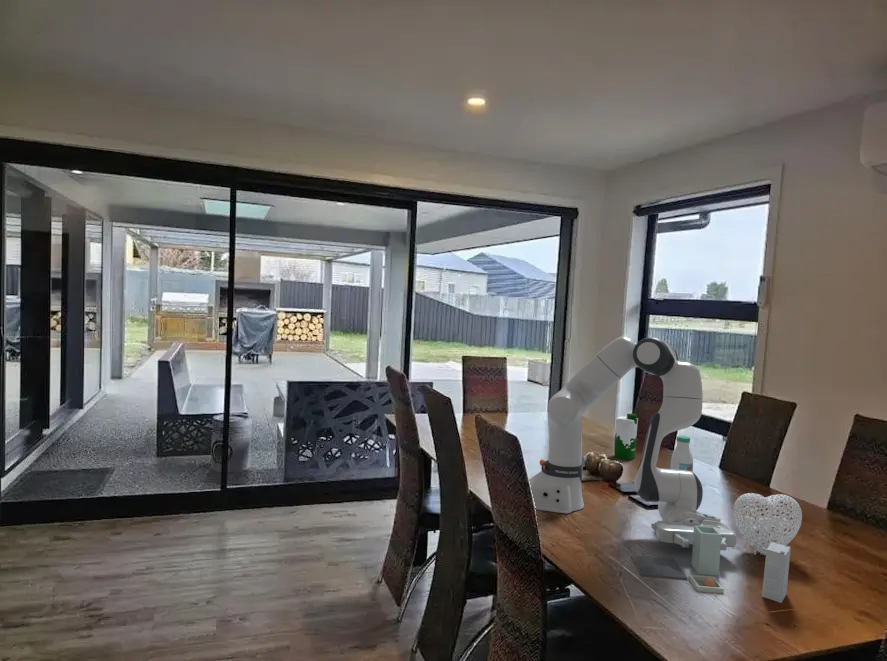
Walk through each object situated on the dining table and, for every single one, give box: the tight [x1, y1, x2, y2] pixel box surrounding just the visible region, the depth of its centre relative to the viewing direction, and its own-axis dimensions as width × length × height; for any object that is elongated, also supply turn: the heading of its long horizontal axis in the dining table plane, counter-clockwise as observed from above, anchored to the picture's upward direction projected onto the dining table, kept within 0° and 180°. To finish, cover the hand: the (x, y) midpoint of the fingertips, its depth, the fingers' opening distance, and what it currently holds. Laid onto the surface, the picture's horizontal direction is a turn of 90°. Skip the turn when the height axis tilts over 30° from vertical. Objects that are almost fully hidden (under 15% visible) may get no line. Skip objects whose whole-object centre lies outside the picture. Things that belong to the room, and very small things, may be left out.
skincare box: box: [761, 542, 792, 604], centre depth 134 cm, size 6×4×12 cm
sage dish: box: [688, 574, 725, 594], centre depth 138 cm, size 6×6×2 cm
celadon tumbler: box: [691, 526, 722, 576], centre depth 146 cm, size 5×5×11 cm
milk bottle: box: [670, 435, 694, 473], centre depth 214 cm, size 8×8×20 cm
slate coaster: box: [630, 554, 688, 581], centre depth 146 cm, size 11×11×1 cm
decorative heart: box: [732, 492, 803, 557], centre depth 158 cm, size 18×11×17 cm, turn 89°
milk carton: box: [613, 412, 639, 461], centre depth 258 cm, size 9×9×20 cm
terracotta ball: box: [702, 578, 716, 587], centre depth 137 cm, size 3×3×3 cm
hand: (705, 546), depth 148 cm, fingers open, 8 cm apart
